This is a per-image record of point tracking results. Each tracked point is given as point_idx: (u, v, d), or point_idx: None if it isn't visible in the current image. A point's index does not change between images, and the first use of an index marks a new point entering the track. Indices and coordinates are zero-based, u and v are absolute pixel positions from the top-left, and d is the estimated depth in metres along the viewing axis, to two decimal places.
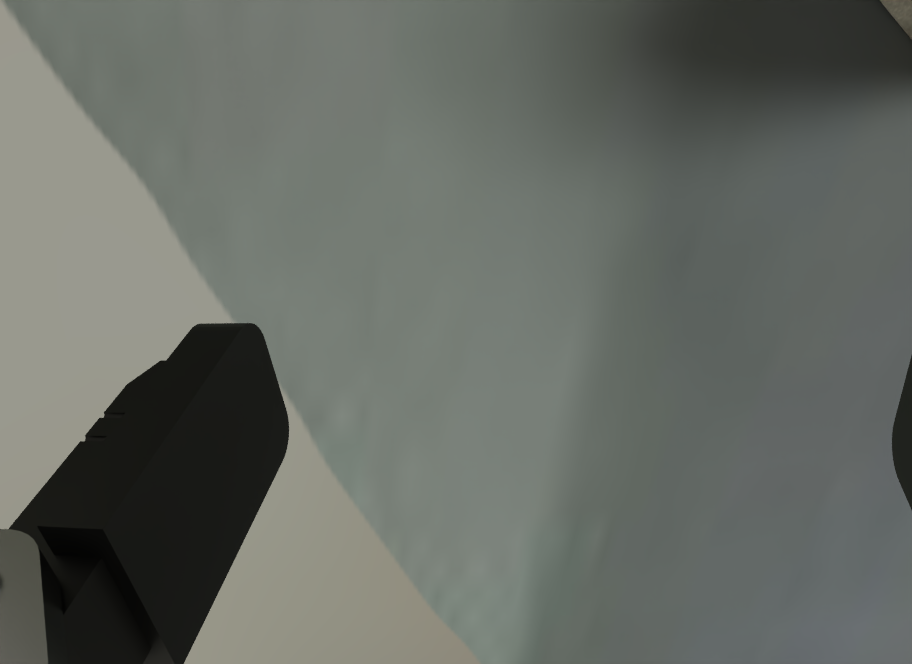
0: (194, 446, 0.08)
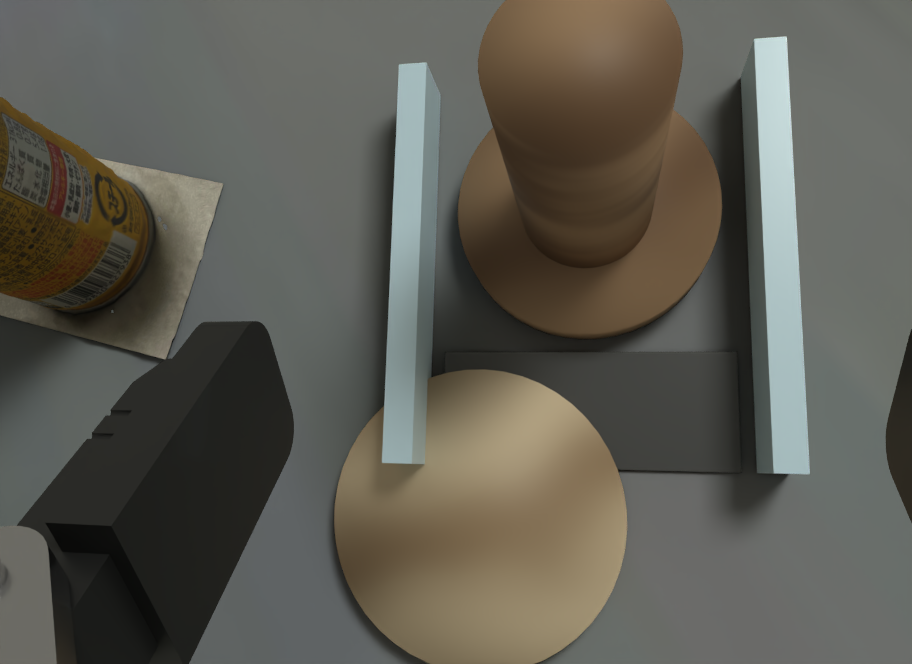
0: (200, 443, 0.08)
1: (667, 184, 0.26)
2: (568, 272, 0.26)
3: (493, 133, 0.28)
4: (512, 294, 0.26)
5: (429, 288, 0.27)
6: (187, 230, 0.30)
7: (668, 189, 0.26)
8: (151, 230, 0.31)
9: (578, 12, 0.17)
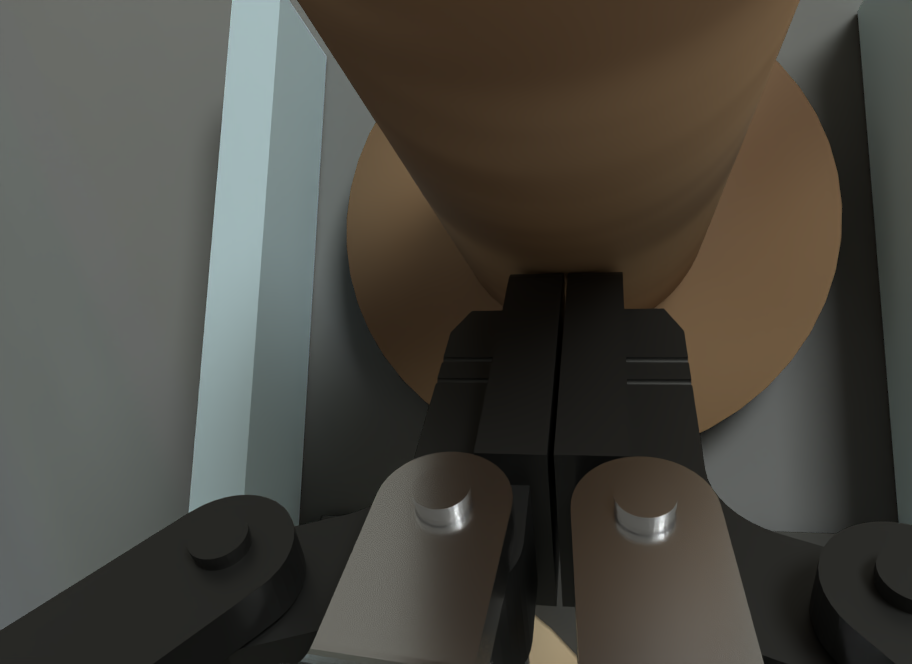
0: (557, 386, 0.09)
1: (732, 167, 0.14)
2: None
3: None
4: None
5: (290, 401, 0.15)
6: None
7: (735, 177, 0.14)
8: None
9: None
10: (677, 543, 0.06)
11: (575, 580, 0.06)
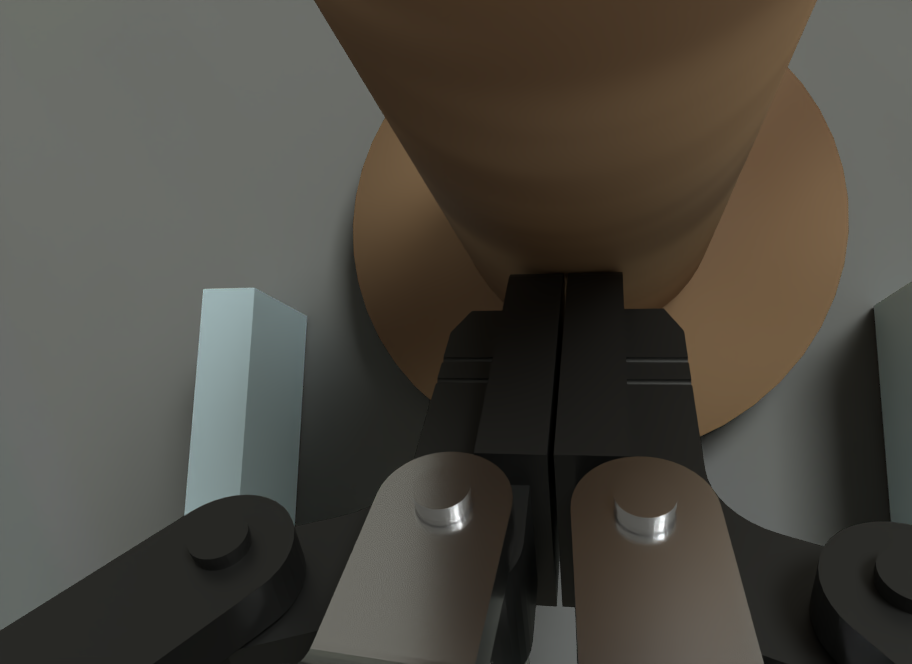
0: (557, 386, 0.09)
1: None
2: None
3: None
4: None
5: None
6: None
7: (740, 174, 0.14)
8: None
9: None
10: (677, 543, 0.06)
11: (575, 580, 0.06)
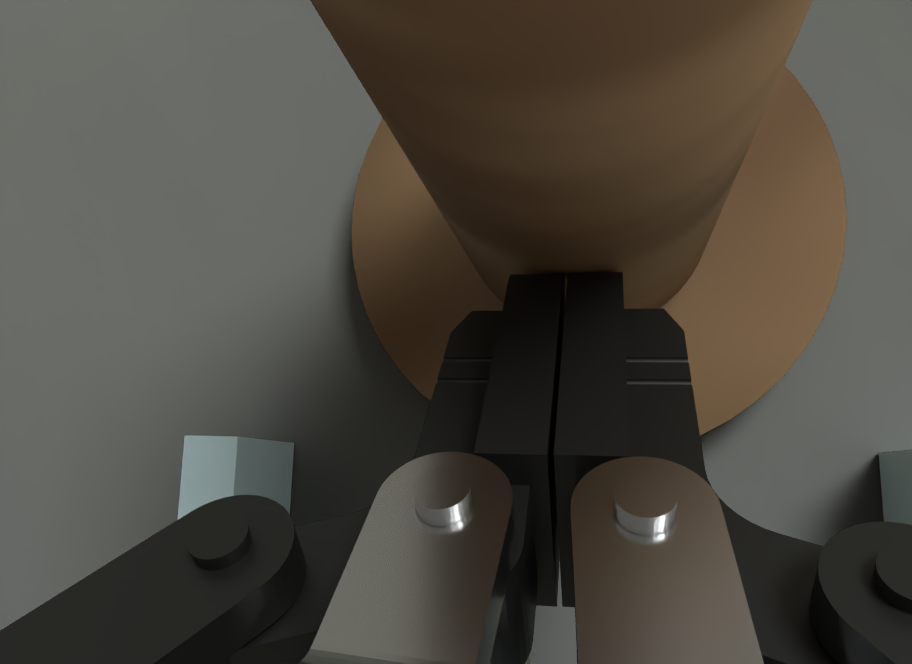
0: (557, 386, 0.09)
1: None
2: None
3: None
4: None
5: None
6: None
7: None
8: None
9: None
10: (677, 543, 0.06)
11: (575, 579, 0.06)
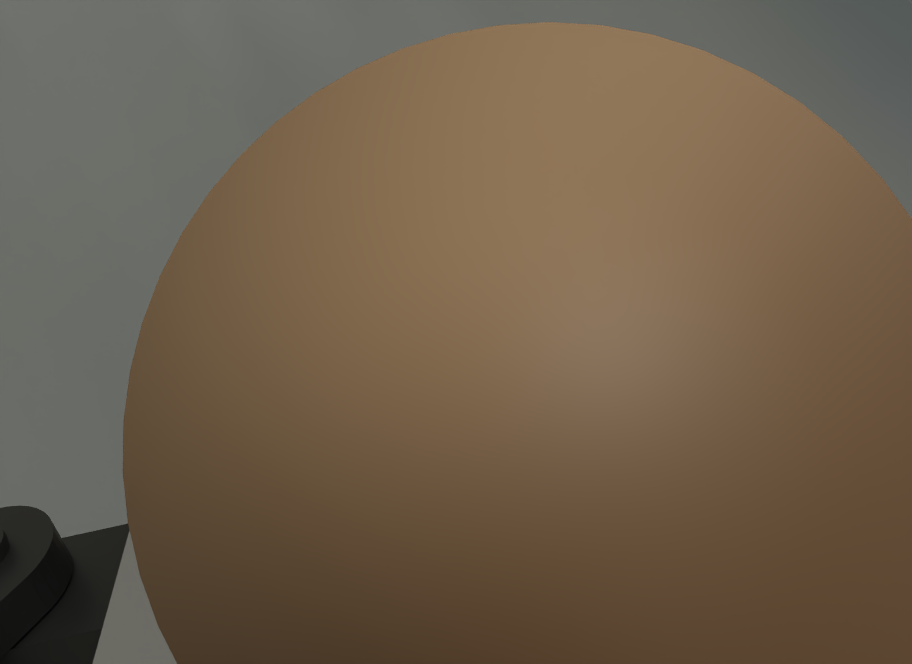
0: None
1: None
2: None
3: None
4: None
5: None
6: None
7: None
8: None
9: (496, 216, 0.04)
10: None
11: None
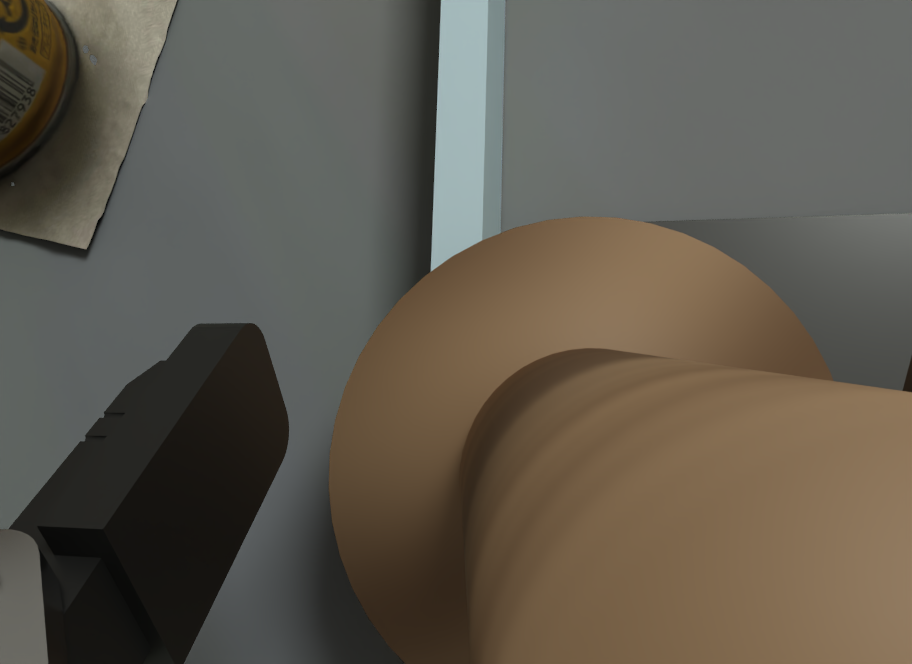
0: (194, 445, 0.08)
1: None
2: None
3: (388, 330, 0.13)
4: None
5: (497, 122, 0.17)
6: (125, 61, 0.20)
7: None
8: (73, 64, 0.21)
9: None
10: None
11: None
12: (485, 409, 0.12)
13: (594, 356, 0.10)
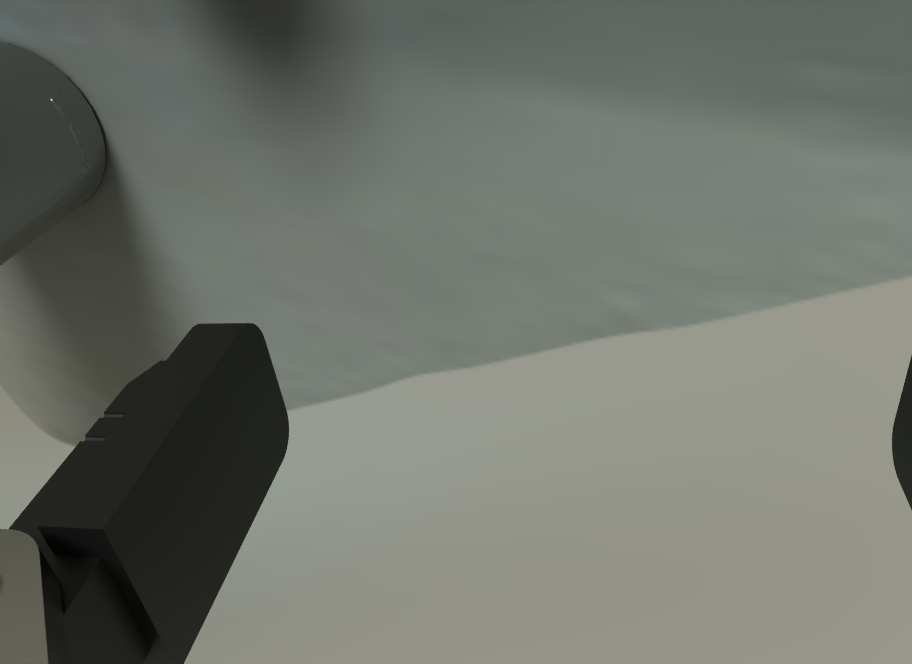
0: (194, 446, 0.08)
1: None
2: None
3: None
4: None
5: None
6: None
7: None
8: None
9: None
10: None
11: None
12: None
13: None
